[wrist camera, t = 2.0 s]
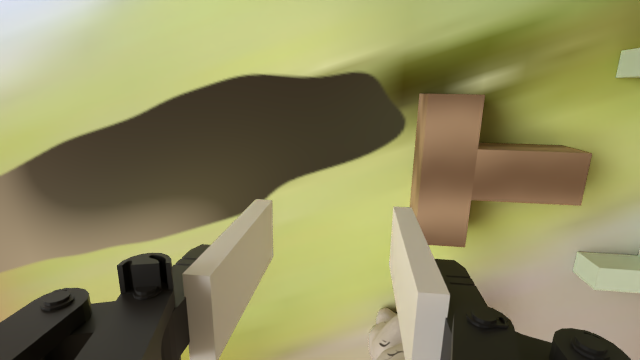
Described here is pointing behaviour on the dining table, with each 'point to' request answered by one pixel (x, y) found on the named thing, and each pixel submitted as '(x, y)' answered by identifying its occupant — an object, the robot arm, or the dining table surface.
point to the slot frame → (603, 267)
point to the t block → (481, 168)
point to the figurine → (386, 337)
